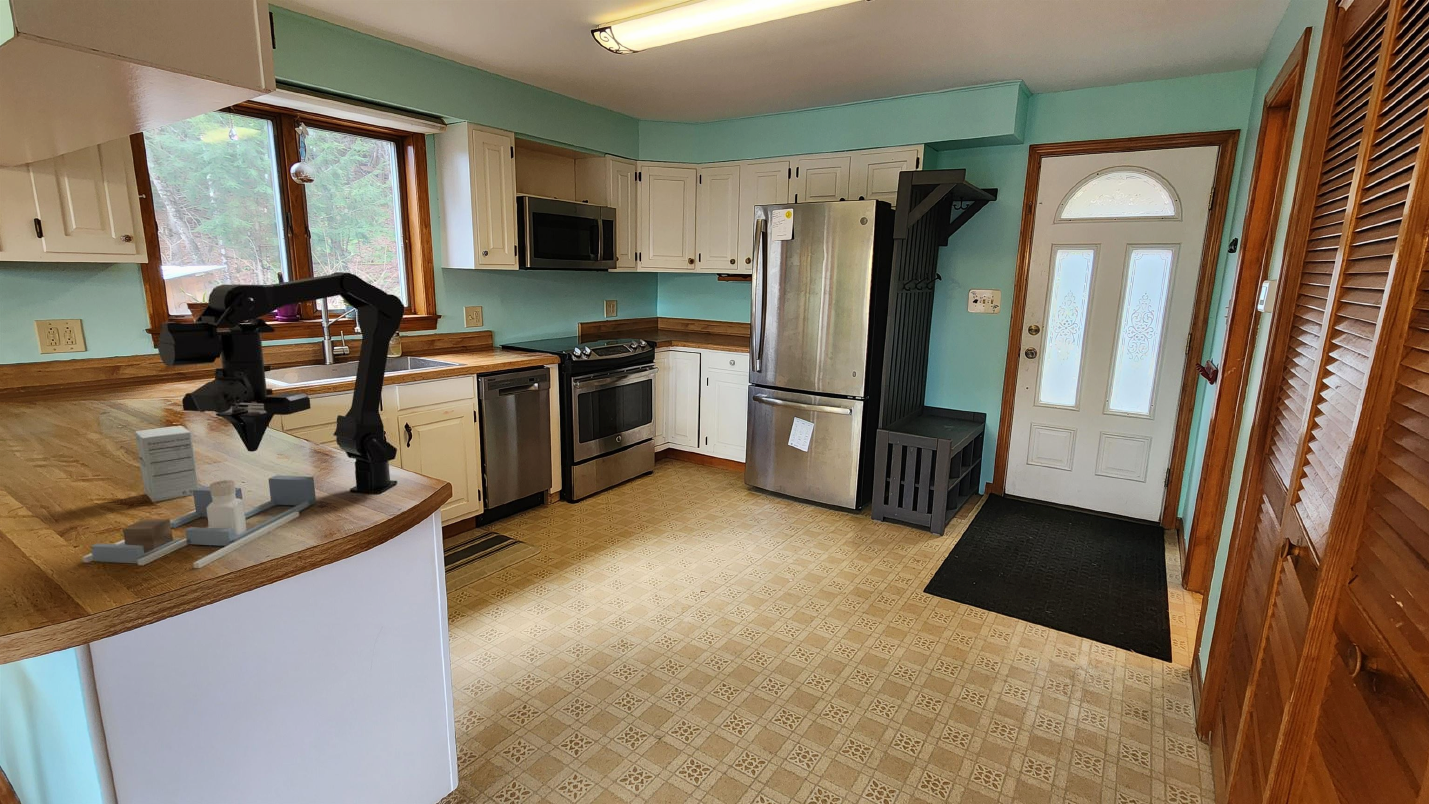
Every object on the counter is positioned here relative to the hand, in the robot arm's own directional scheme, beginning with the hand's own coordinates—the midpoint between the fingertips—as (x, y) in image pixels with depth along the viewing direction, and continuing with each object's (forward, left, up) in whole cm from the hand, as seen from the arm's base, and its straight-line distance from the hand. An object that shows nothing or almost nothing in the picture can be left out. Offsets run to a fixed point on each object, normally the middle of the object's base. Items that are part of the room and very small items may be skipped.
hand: (252, 451), depth 110 cm
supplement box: (-11, -27, -13) cm, 32 cm away
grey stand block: (+1, 0, -13) cm, 13 cm away
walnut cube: (+12, -9, -13) cm, 20 cm away
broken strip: (+8, -9, -13) cm, 17 cm away
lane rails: (+8, -4, -13) cm, 15 cm away
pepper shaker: (+8, +1, -13) cm, 15 cm away
